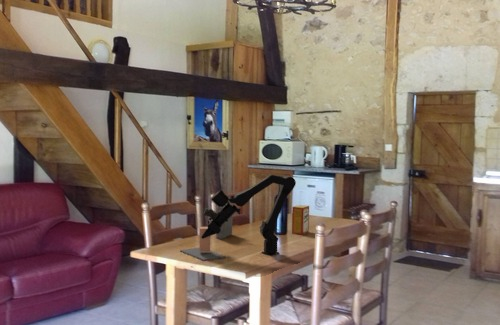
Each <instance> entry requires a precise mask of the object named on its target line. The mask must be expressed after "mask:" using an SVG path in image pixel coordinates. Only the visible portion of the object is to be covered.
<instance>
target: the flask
mask: <svg viewBox="0 0 500 325" xmlns="http://www.w3.org/2000/svg"><path fill="white" fill-rule="evenodd" d="M227 204H228V203H227ZM227 204H226V205H227ZM230 204H231V205H232V204H233V203H230ZM226 205H225V206H226ZM225 206H223V207H225ZM223 207H218V206H217V205H216V211H215V212H218V211H220V210H221V209H222V208H223ZM232 235H233V215H232V216H231V217H230V218H229V219H228V221H227V222H225V223H224V224H223V225H222V227H221V232H220V233H219V234H215V237H216V239H218V240H223V239H226V238H227V237H230V236H232Z"/></svg>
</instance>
